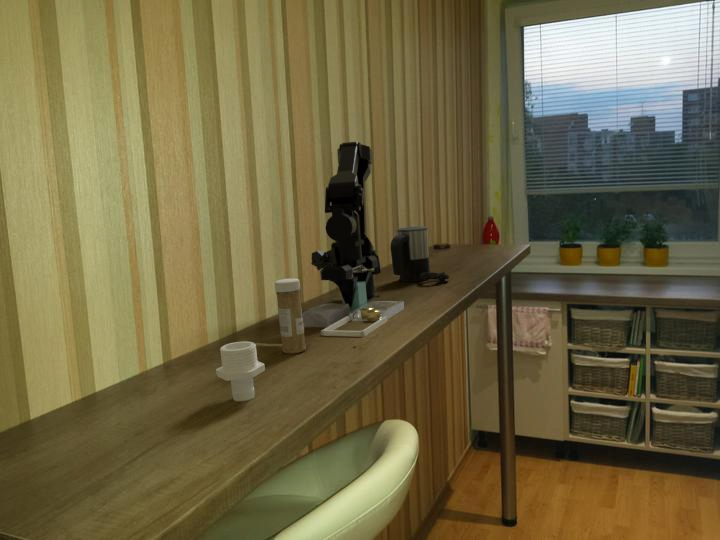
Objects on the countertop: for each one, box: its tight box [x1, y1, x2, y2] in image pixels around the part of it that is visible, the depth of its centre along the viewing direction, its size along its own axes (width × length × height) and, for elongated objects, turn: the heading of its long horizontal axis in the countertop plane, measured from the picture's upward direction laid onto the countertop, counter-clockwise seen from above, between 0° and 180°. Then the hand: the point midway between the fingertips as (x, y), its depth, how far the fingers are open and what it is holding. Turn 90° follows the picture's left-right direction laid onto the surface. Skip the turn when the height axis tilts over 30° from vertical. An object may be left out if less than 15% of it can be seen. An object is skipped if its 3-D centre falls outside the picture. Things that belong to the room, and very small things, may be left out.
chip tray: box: [320, 316, 388, 338], centre depth 133 cm, size 12×9×1 cm
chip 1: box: [361, 307, 374, 318], centre depth 142 cm, size 3×3×2 cm
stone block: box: [302, 302, 350, 328], centre depth 142 cm, size 12×5×10 cm
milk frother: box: [390, 226, 450, 282], centre depth 182 cm, size 14×16×15 cm
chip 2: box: [367, 309, 381, 322], centre depth 139 cm, size 3×3×2 cm
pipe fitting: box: [215, 341, 266, 402], centre depth 97 cm, size 6×7×8 cm
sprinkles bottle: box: [274, 277, 307, 355], centre depth 120 cm, size 5×5×14 cm
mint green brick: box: [341, 281, 368, 312], centre depth 148 cm, size 4×4×7 cm
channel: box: [349, 300, 405, 322], centre depth 144 cm, size 12×8×2 cm
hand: (353, 304), depth 149 cm, fingers closed on mint green brick, 4 cm apart
